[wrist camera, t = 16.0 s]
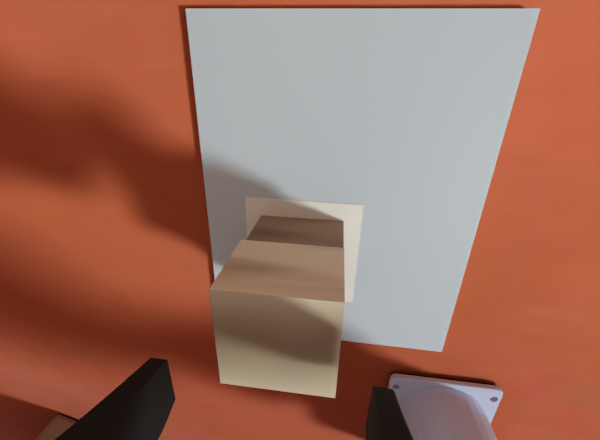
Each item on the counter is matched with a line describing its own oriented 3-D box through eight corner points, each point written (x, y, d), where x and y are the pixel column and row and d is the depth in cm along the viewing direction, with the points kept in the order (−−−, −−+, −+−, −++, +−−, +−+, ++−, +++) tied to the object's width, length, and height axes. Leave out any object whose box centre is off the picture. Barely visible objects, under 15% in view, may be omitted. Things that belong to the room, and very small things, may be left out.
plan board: (439, 345, 22) (441, 352, 21) (222, 321, 24) (219, 327, 23) (532, 11, 14) (541, 8, 13) (191, 11, 15) (184, 8, 15)
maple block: (336, 329, 17) (335, 398, 13) (246, 319, 17) (220, 383, 13) (344, 247, 14) (344, 302, 11) (241, 239, 15) (208, 289, 11)
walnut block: (337, 289, 20) (336, 334, 17) (263, 283, 21) (246, 325, 17) (343, 221, 18) (343, 255, 15) (261, 215, 19) (241, 246, 15)
